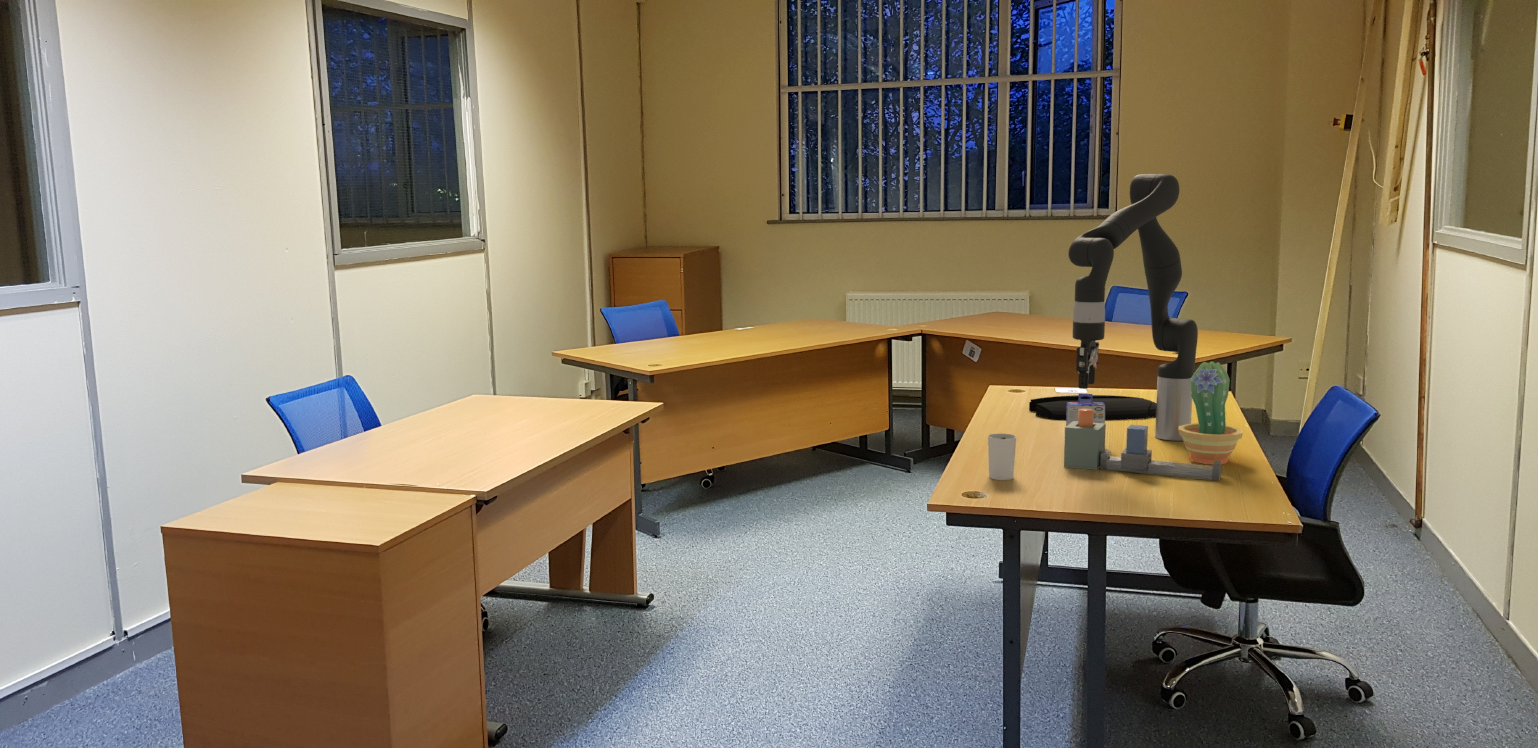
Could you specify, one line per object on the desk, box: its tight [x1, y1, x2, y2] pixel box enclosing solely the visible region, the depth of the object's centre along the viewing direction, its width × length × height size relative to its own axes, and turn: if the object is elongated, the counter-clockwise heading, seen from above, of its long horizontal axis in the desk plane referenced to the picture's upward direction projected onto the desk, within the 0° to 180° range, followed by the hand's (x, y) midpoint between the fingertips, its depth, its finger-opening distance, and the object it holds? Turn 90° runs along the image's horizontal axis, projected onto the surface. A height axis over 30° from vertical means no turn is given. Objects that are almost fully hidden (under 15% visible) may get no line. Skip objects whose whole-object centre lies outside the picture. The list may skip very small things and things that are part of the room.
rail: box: [1099, 449, 1222, 482], centre depth 255 cm, size 4×27×4 cm, turn 61°
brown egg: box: [1078, 409, 1094, 428], centre depth 263 cm, size 4×4×6 cm
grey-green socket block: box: [1063, 421, 1107, 471], centre depth 264 cm, size 9×8×10 cm
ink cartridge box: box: [1065, 393, 1106, 427], centre depth 282 cm, size 10×6×14 cm, turn 78°
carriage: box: [1120, 424, 1153, 472], centre depth 257 cm, size 7×6×10 cm
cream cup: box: [987, 432, 1017, 481], centre depth 253 cm, size 7×7×10 cm
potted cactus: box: [1179, 361, 1244, 465], centre depth 266 cm, size 15×15×25 cm
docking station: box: [1028, 394, 1156, 421], centre depth 332 cm, size 25×40×5 cm, turn 89°
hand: (1086, 386), depth 262 cm, fingers open, 7 cm apart
